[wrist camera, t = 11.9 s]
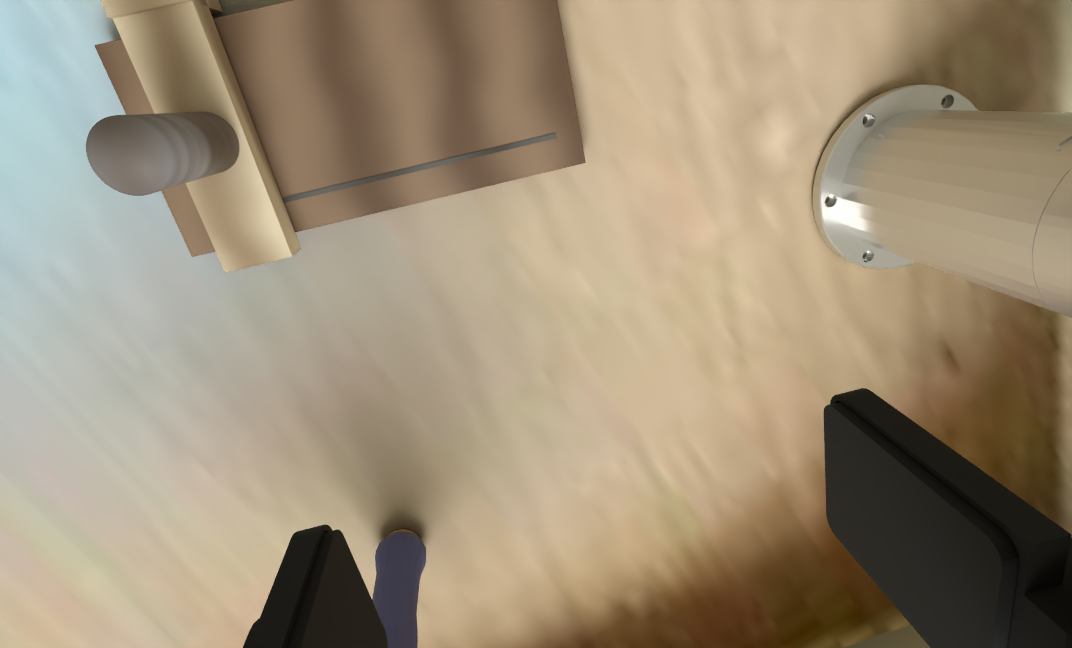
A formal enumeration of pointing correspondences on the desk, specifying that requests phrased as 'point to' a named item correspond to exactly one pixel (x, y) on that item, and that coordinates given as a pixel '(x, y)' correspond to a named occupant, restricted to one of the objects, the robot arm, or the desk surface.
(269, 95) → the walnut board
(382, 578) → the rubber mallet
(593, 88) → the desk surface
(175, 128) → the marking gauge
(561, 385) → the desk surface
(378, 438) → the desk surface
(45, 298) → the desk surface
